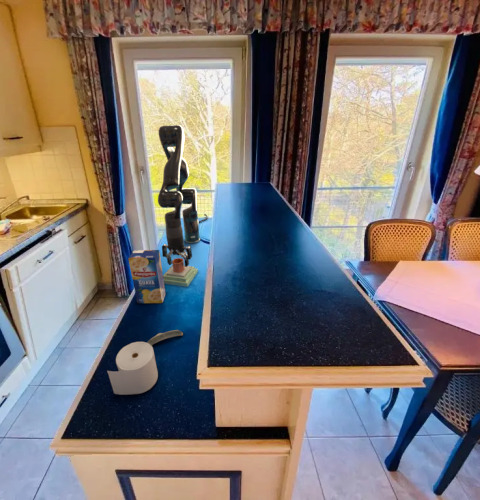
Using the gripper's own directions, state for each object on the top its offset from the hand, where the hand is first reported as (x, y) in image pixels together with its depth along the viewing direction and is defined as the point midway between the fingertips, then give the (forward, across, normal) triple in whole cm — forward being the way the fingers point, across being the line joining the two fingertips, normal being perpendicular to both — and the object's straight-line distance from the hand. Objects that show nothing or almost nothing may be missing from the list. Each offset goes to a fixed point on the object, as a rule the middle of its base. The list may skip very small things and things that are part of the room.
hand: (178, 265), depth 135 cm
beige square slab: (+4, 0, 0) cm, 4 cm away
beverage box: (+7, +5, +19) cm, 21 cm away
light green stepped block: (+7, 0, 0) cm, 7 cm away
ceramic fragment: (+7, -12, +41) cm, 43 cm away
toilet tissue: (+7, -12, +58) cm, 60 cm away
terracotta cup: (+2, 0, 0) cm, 2 cm away
